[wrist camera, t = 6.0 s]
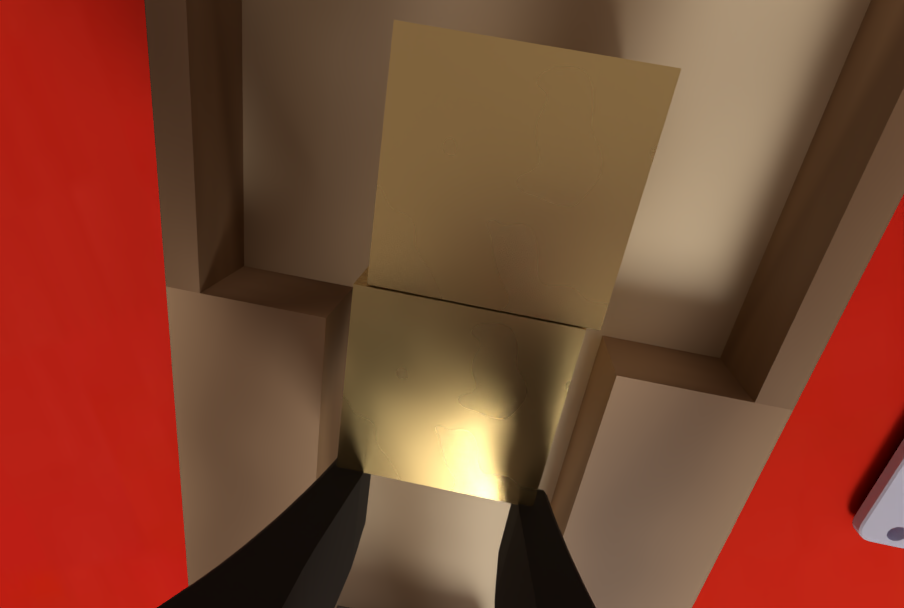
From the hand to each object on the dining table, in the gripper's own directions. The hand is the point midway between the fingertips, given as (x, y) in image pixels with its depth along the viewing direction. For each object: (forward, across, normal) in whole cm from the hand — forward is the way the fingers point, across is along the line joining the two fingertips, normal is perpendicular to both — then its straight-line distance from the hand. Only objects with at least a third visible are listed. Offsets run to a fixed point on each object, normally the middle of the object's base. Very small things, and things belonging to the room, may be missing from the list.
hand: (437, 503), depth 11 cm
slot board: (+4, 0, 0) cm, 4 cm away
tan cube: (+3, 0, -3) cm, 5 cm away
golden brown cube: (+3, 0, -7) cm, 8 cm away
